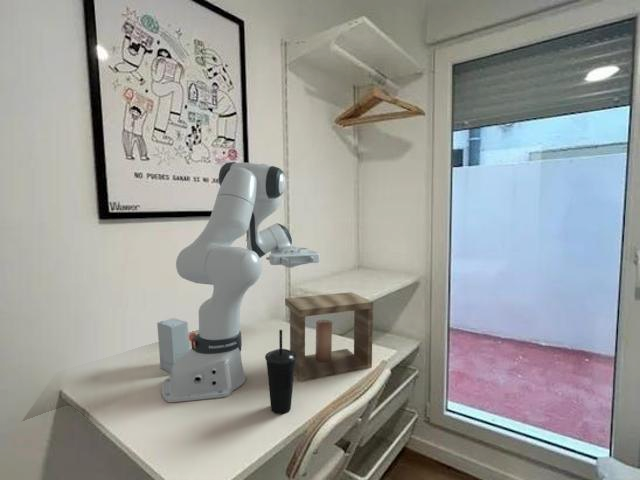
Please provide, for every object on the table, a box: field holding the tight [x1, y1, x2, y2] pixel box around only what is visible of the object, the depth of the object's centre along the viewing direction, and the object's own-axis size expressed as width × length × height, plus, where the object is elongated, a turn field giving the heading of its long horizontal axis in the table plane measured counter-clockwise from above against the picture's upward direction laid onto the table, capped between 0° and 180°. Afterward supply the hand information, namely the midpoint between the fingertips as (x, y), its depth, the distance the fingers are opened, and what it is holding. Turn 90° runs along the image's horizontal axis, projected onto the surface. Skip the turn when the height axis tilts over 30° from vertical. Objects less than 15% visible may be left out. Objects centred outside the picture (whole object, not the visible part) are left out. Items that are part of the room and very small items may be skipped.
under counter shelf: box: [284, 291, 374, 382], centre depth 110 cm, size 24×14×21 cm, turn 113°
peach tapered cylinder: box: [315, 319, 333, 361], centre depth 113 cm, size 5×5×12 cm
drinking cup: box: [264, 329, 297, 415], centre depth 85 cm, size 8×8×20 cm
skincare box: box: [156, 317, 190, 374], centre depth 107 cm, size 8×6×15 cm
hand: (300, 261), depth 131 cm, fingers open, 8 cm apart
